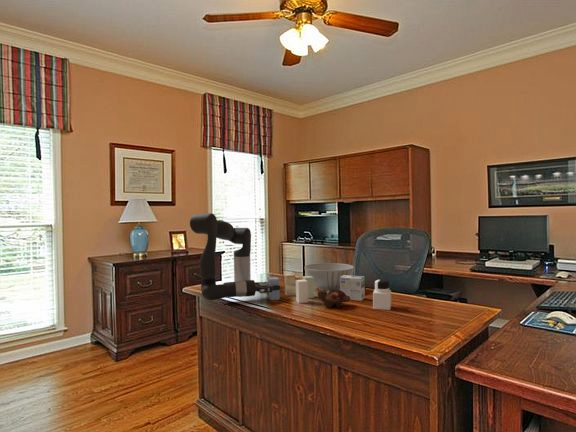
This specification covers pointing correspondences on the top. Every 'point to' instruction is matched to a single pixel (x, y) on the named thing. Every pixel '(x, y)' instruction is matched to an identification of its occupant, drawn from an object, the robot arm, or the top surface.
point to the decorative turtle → (333, 297)
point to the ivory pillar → (302, 291)
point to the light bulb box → (353, 287)
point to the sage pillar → (310, 285)
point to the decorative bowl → (328, 274)
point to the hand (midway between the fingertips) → (278, 286)
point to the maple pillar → (290, 284)
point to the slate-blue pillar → (275, 294)
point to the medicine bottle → (382, 295)
